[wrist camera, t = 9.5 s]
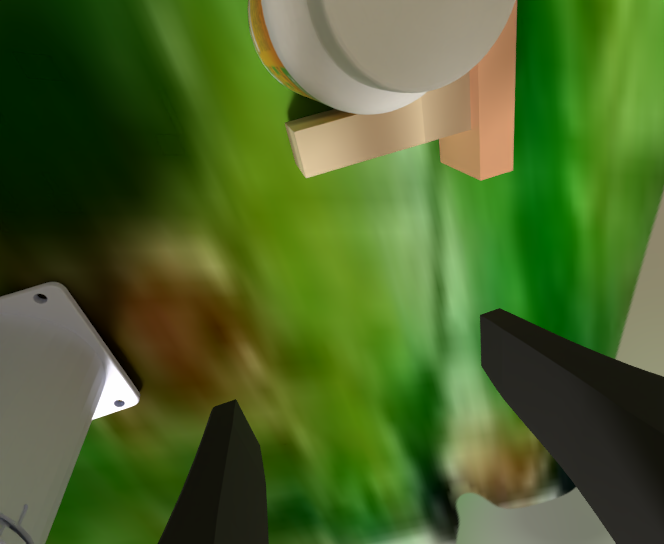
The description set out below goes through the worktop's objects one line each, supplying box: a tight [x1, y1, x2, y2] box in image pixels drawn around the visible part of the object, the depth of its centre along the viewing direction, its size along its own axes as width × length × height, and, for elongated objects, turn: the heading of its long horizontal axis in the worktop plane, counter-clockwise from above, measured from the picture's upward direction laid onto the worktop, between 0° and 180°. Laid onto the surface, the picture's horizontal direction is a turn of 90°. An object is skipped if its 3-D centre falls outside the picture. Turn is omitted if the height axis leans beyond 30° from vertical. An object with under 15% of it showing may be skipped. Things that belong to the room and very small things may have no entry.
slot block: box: [285, 72, 471, 178], centre depth 14 cm, size 7×10×3 cm
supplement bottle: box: [248, 0, 516, 115], centre depth 11 cm, size 5×5×10 cm
